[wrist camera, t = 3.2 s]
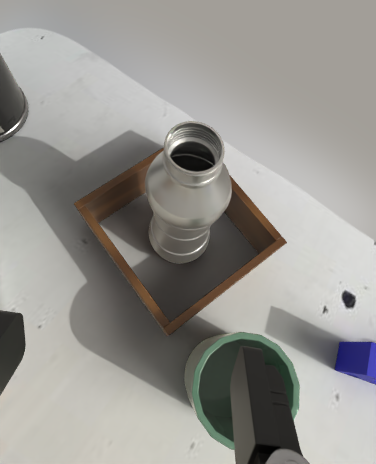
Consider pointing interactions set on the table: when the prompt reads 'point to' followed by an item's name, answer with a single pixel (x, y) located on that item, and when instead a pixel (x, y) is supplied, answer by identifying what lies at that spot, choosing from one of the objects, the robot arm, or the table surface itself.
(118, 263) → the open box
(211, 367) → the cup
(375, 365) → the blue cradle bracket
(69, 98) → the table surface
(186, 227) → the silver metal bottle
